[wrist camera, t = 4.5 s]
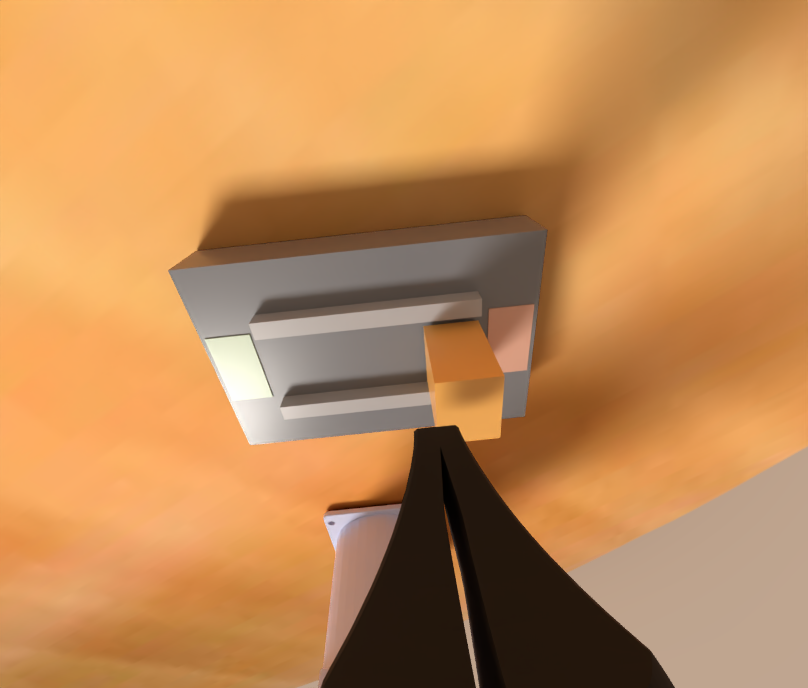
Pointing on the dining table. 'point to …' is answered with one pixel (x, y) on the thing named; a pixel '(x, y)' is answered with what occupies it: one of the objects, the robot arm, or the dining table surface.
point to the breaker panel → (360, 321)
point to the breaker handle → (464, 379)
